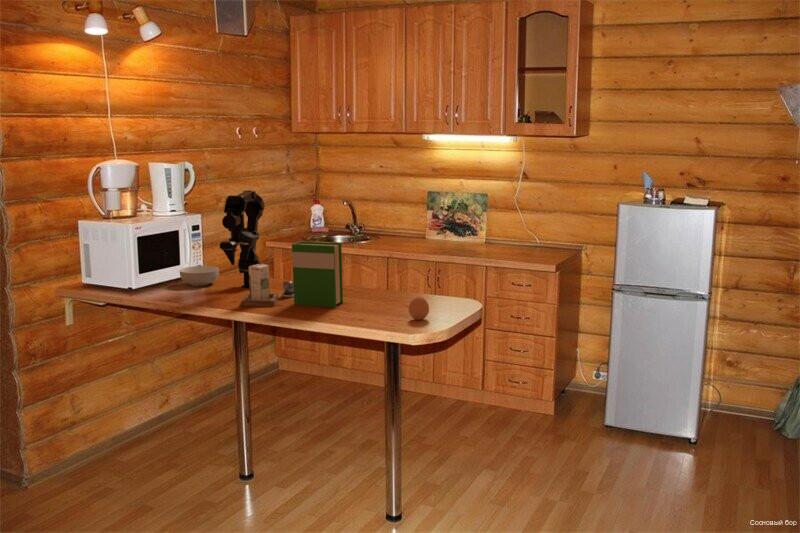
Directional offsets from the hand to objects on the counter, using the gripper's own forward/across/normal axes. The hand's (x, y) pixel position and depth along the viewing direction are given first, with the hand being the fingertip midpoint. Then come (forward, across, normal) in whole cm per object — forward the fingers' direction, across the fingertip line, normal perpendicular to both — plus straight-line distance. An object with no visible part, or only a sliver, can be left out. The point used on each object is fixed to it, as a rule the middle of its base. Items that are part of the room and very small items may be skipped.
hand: (239, 263), depth 324 cm
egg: (+13, -16, -86) cm, 88 cm away
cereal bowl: (+13, +10, +28) cm, 33 cm away
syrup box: (+13, -12, -17) cm, 24 cm away
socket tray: (+13, -12, -17) cm, 25 cm away
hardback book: (+13, -6, -40) cm, 43 cm away
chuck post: (+13, +2, -22) cm, 26 cm away
